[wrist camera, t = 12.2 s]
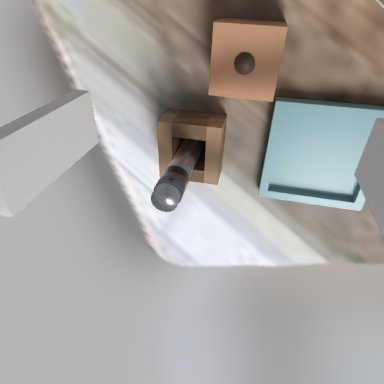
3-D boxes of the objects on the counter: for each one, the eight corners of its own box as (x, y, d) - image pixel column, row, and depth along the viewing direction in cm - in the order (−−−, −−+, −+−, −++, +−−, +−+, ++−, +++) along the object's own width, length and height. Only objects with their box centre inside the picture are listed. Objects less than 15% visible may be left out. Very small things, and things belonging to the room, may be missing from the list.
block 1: (167, 108, 34) (157, 121, 31) (226, 114, 33) (222, 128, 30) (169, 161, 38) (159, 176, 35) (221, 167, 37) (217, 184, 34)
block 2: (221, 16, 28) (213, 22, 24) (285, 21, 27) (287, 27, 23) (216, 81, 32) (208, 95, 28) (272, 87, 31) (272, 102, 27)
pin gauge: (185, 128, 35) (149, 186, 25) (206, 130, 35) (178, 190, 25) (185, 147, 37) (150, 210, 26) (205, 150, 36) (178, 214, 26)
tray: (275, 96, 31) (276, 101, 30) (399, 107, 29) (405, 112, 28) (258, 189, 38) (258, 196, 37) (357, 203, 36) (360, 210, 35)
